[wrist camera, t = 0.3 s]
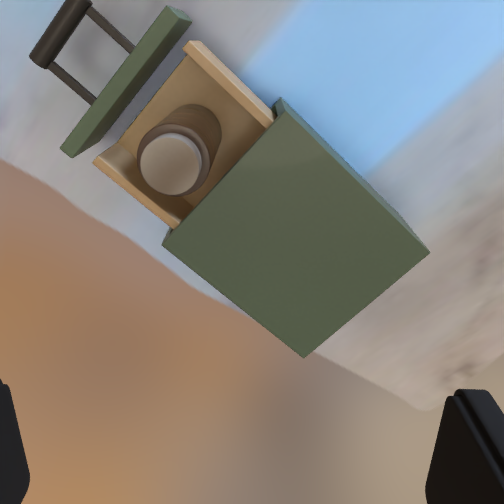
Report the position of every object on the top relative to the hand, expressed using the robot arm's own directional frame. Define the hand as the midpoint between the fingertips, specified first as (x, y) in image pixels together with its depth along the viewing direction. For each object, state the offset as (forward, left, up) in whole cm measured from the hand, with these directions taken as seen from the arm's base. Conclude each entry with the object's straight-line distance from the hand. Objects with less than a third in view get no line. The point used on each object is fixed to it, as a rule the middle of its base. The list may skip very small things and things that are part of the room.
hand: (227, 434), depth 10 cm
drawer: (-5, -5, -35) cm, 36 cm away
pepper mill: (-3, -4, -34) cm, 34 cm away
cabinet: (+9, -1, -36) cm, 37 cm away
